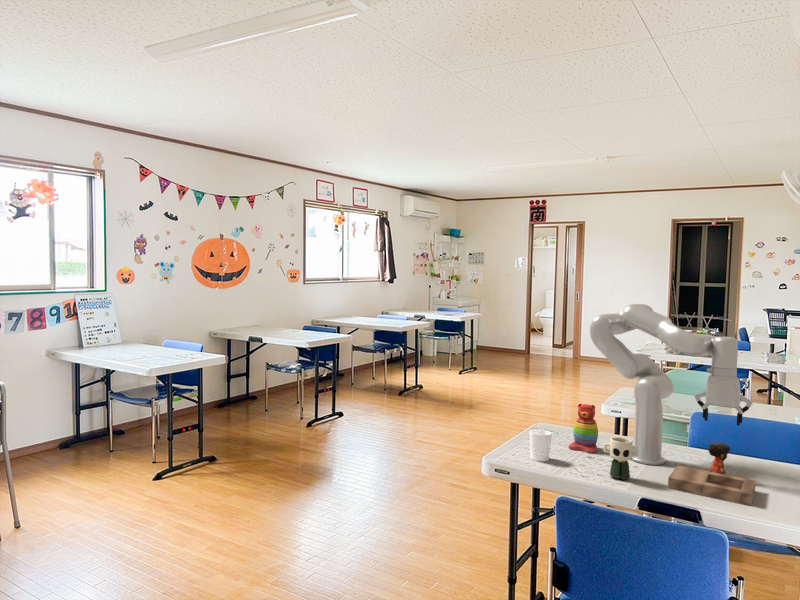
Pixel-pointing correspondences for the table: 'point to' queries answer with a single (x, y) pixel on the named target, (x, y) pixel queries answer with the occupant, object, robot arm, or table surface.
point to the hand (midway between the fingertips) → (722, 422)
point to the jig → (712, 485)
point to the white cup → (540, 445)
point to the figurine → (718, 457)
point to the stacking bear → (585, 430)
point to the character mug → (620, 456)
